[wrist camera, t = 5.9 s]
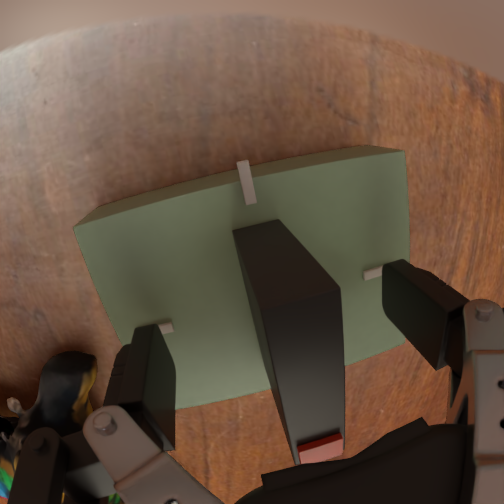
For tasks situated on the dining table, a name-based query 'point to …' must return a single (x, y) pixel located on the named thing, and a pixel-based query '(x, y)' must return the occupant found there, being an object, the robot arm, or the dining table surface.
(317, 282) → the knob
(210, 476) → the dining table surface
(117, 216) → the panel
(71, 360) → the dog figurine
